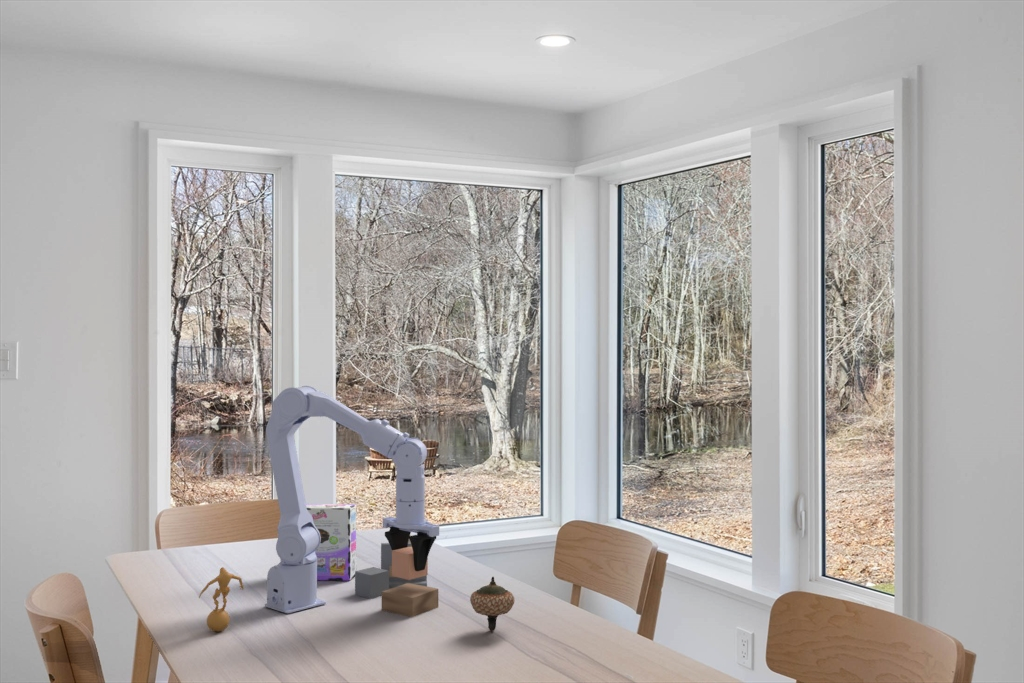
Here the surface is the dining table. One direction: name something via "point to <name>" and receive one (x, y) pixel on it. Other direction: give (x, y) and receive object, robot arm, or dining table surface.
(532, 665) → the dining table surface
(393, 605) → the walnut base block
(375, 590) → the charcoal cube
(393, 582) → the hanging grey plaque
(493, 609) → the acorn
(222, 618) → the figurine
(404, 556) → the terracotta cube
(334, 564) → the candy box
